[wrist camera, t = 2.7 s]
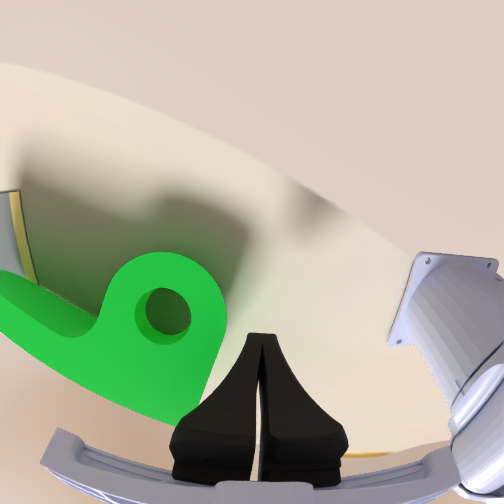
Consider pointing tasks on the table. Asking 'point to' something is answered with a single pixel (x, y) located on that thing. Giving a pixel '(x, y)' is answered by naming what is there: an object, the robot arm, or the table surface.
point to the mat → (14, 238)
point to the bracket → (124, 335)
